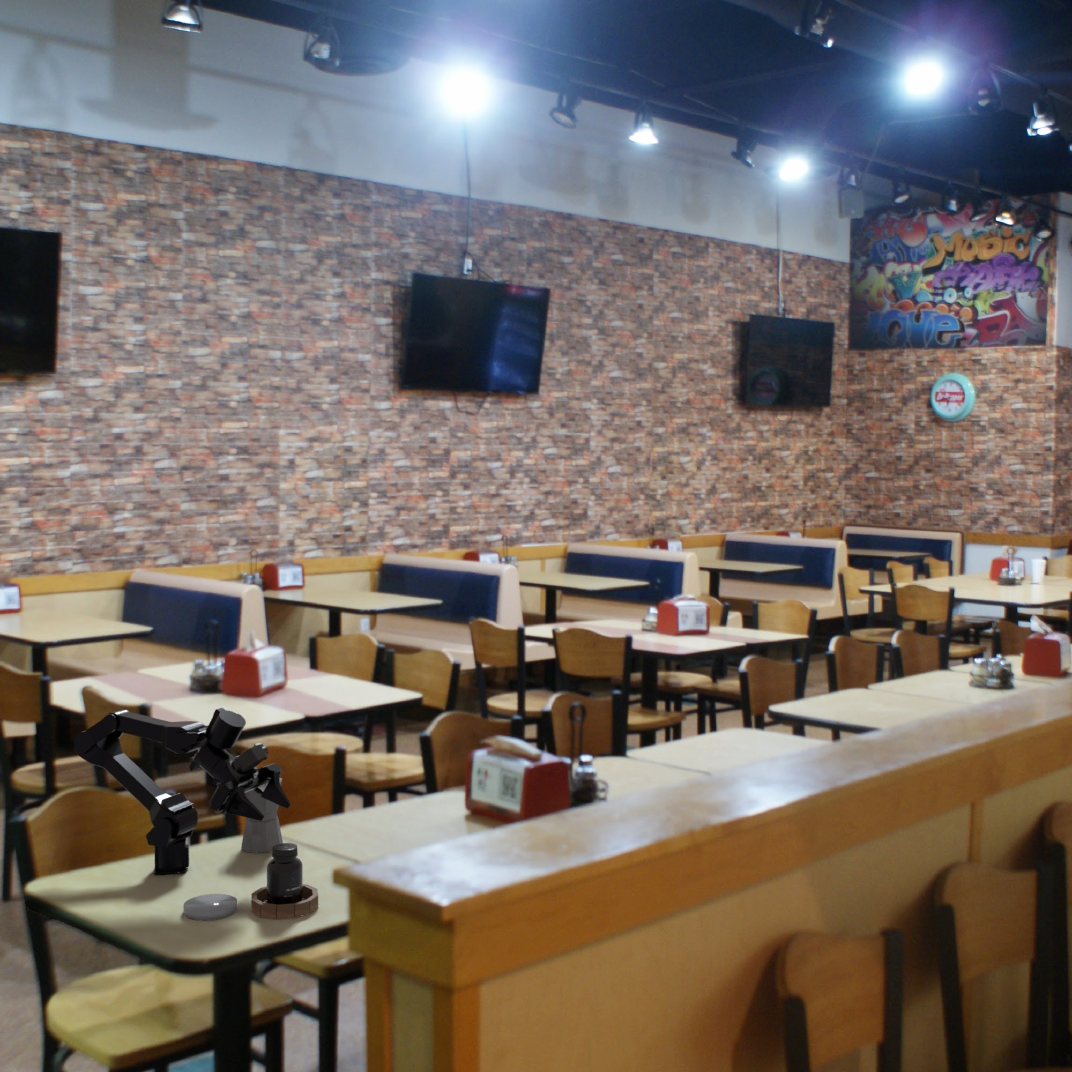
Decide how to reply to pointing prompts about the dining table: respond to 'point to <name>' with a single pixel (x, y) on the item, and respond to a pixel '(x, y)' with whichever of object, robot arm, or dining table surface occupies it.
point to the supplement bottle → (284, 875)
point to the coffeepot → (261, 825)
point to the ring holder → (284, 909)
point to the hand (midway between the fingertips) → (276, 812)
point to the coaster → (210, 907)
